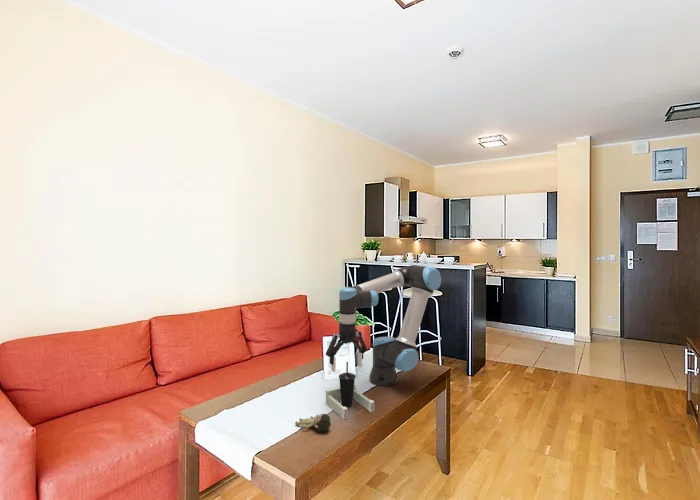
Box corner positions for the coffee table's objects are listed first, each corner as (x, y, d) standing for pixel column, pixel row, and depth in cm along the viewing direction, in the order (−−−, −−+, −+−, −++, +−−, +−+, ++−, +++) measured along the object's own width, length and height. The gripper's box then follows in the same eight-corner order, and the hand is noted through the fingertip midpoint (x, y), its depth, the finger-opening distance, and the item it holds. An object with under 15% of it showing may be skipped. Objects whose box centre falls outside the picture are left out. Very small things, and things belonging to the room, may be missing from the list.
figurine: (301, 410, 159) (332, 410, 152) (304, 425, 158) (335, 426, 152) (291, 418, 151) (322, 419, 145) (293, 434, 151) (325, 435, 145)
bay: (354, 396, 181) (354, 384, 181) (374, 411, 166) (374, 398, 166) (325, 403, 174) (325, 390, 173) (343, 419, 158) (343, 405, 158)
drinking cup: (353, 409, 167) (353, 365, 166) (336, 408, 169) (337, 364, 168) (356, 402, 175) (357, 359, 174) (340, 400, 176) (340, 358, 175)
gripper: (366, 318, 179) (365, 362, 180) (318, 323, 167) (318, 370, 168) (375, 321, 173) (374, 367, 174) (326, 327, 161) (325, 376, 161)
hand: (346, 368), depth 171 cm, fingers open, 13 cm apart
